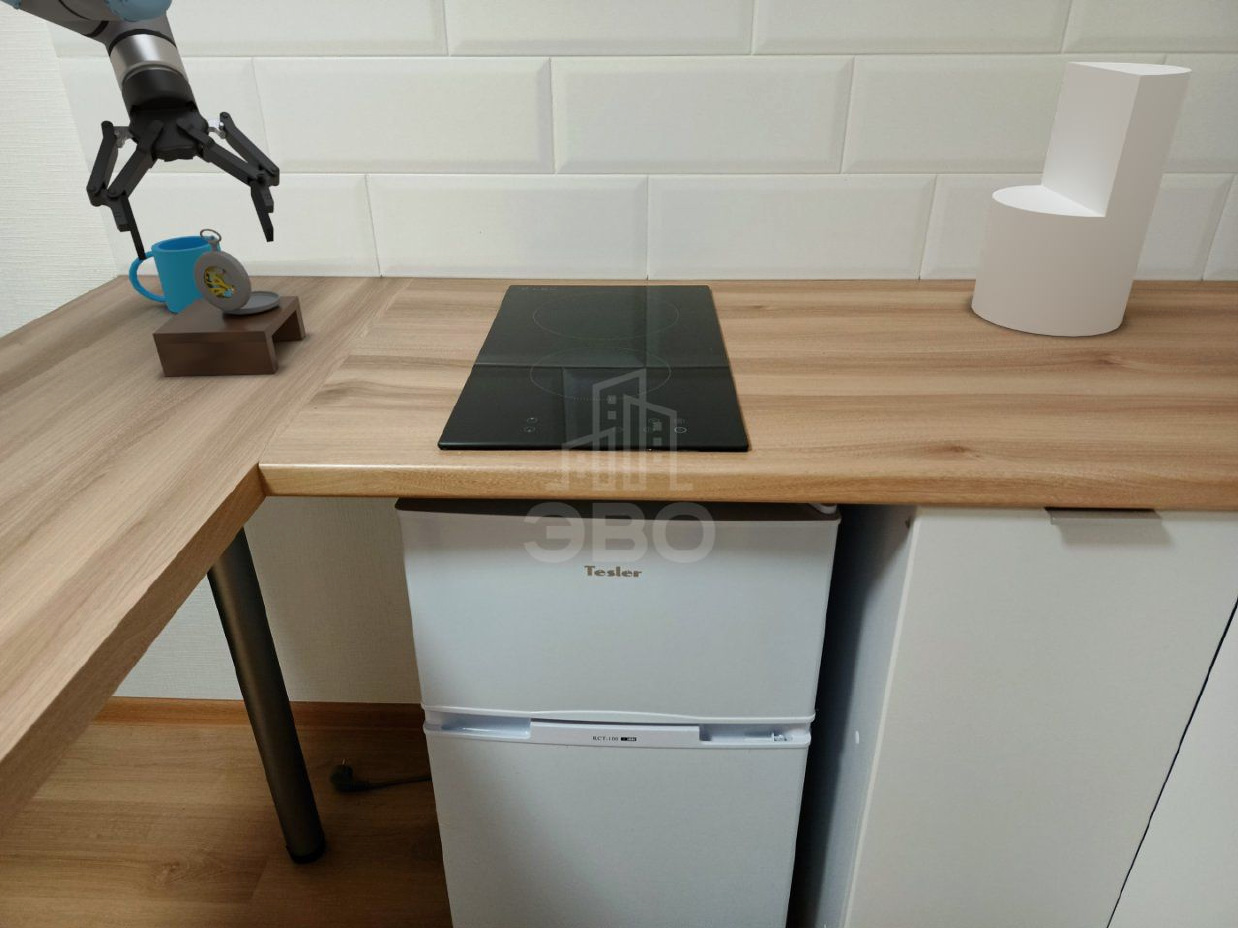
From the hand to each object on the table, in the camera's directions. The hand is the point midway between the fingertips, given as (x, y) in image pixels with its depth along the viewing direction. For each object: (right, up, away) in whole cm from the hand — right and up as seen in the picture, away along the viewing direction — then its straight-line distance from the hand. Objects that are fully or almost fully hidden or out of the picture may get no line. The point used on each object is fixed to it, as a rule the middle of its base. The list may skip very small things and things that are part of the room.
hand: (207, 244), depth 97 cm
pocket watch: (+4, -8, +1) cm, 8 cm away
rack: (+2, -12, +3) cm, 13 cm away
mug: (-12, -3, +19) cm, 23 cm away
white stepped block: (+100, -6, +11) cm, 101 cm away
